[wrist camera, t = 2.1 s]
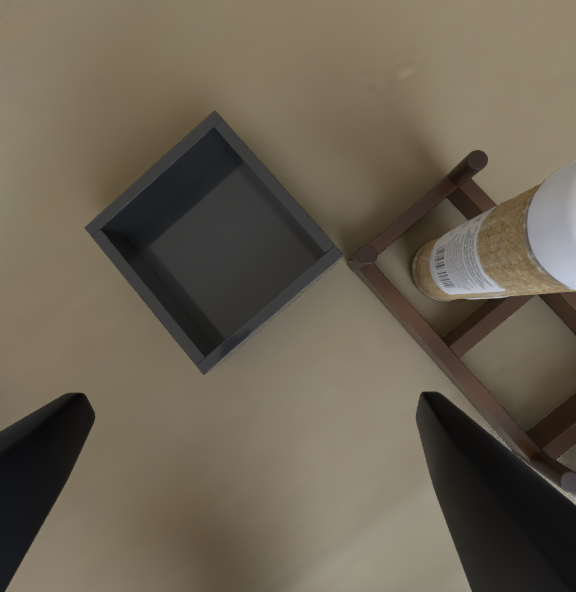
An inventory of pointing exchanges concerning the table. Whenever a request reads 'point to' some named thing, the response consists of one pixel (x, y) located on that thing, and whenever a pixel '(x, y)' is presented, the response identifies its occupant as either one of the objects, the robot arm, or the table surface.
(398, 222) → the cup rack
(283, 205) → the open square storage box
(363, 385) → the table surface
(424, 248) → the sprinkles bottle
